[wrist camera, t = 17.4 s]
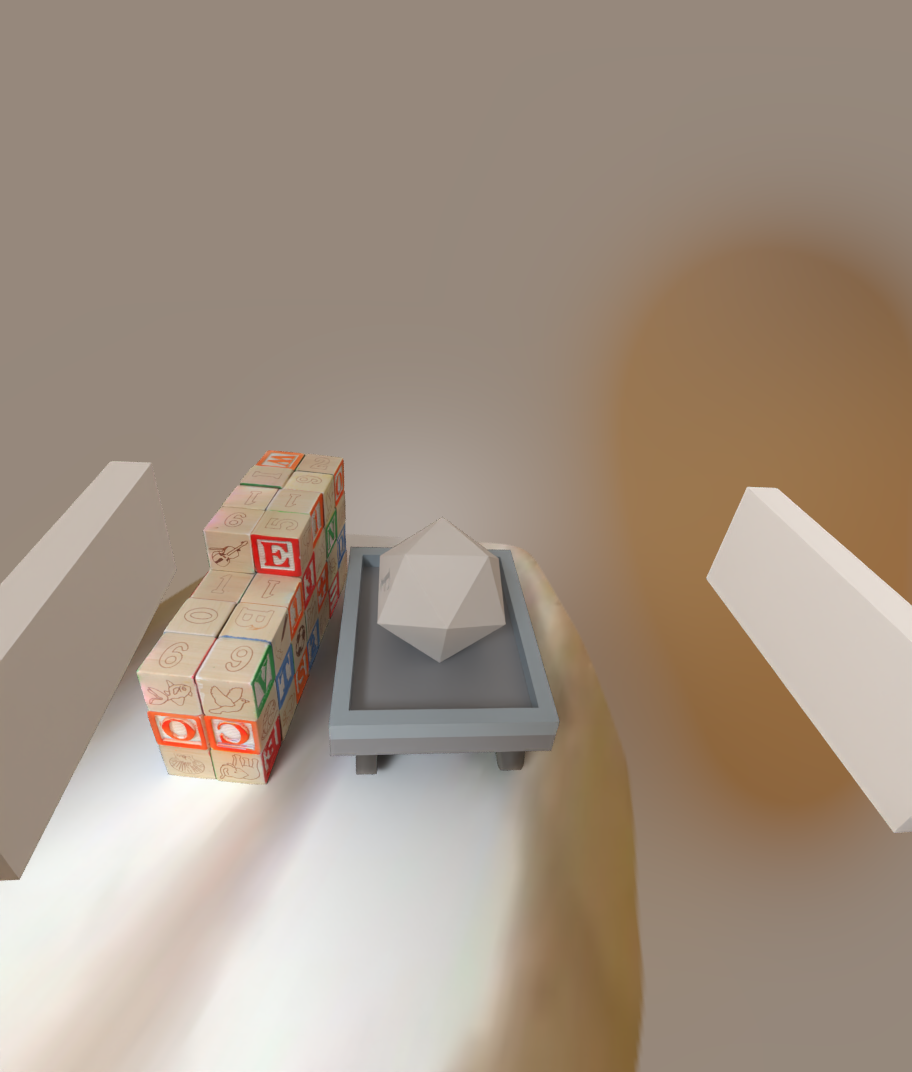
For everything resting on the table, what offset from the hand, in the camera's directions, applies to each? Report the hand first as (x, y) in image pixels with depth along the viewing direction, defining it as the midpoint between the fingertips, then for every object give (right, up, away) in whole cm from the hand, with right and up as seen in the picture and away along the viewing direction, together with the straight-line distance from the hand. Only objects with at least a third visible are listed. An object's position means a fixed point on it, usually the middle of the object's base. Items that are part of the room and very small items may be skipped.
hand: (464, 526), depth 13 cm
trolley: (-2, -11, +29) cm, 31 cm away
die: (-1, -7, +26) cm, 27 cm away
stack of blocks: (-14, -10, +30) cm, 35 cm away
